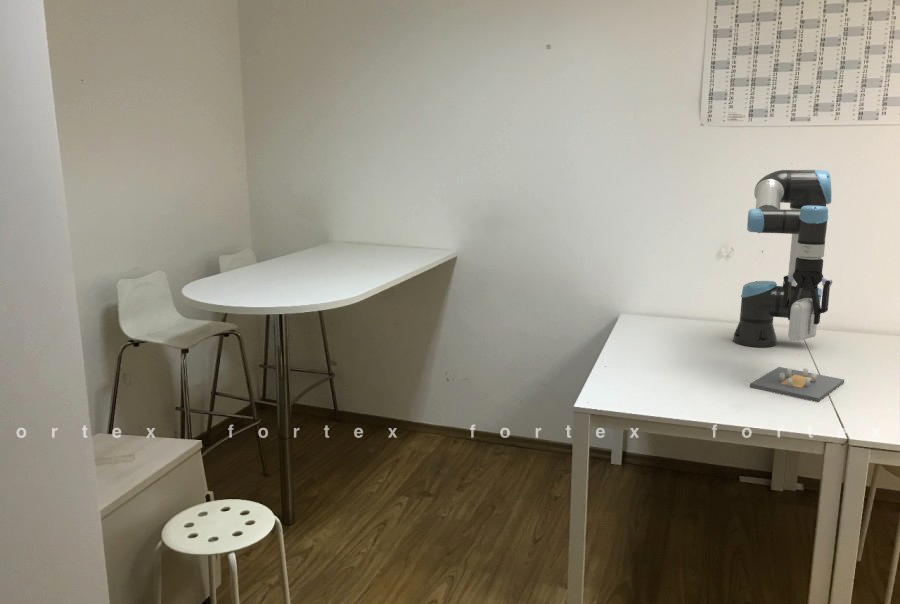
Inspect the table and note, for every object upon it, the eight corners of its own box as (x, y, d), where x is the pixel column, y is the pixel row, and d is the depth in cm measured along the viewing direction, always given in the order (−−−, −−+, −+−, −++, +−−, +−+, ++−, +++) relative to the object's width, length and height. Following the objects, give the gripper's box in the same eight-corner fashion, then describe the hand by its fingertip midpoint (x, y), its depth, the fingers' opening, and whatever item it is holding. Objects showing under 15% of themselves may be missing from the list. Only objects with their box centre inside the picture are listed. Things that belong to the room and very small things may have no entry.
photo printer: (804, 334, 229) (808, 295, 227) (817, 337, 226) (821, 297, 223) (785, 338, 224) (789, 299, 221) (798, 341, 220) (802, 301, 218)
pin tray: (749, 387, 226) (750, 375, 226) (778, 370, 243) (779, 359, 243) (818, 402, 213) (819, 390, 212) (844, 383, 230) (845, 371, 229)
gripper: (774, 256, 223) (767, 330, 228) (838, 261, 211) (829, 340, 216) (783, 253, 229) (776, 325, 233) (846, 259, 216) (837, 335, 221)
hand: (802, 332), depth 224 cm, fingers closed on photo printer, 5 cm apart
